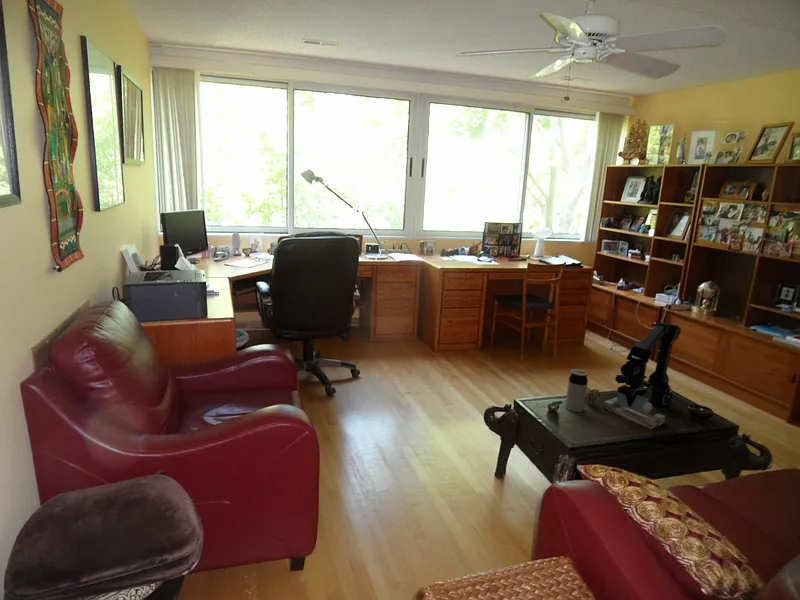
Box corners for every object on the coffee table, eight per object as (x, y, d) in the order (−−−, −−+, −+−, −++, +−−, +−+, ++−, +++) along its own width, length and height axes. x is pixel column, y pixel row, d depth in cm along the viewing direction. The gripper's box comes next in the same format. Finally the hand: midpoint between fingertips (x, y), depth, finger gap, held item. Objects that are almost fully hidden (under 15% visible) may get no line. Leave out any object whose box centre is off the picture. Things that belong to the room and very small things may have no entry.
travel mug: (584, 413, 228) (590, 376, 224) (566, 411, 229) (571, 373, 225) (582, 406, 235) (587, 369, 231) (564, 404, 237) (569, 367, 233)
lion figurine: (601, 409, 234) (604, 391, 232) (591, 409, 233) (593, 391, 231) (585, 396, 248) (587, 379, 246) (575, 396, 247) (577, 379, 245)
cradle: (616, 403, 241) (617, 396, 240) (664, 423, 222) (665, 416, 222) (602, 408, 234) (603, 401, 234) (650, 429, 216) (652, 421, 215)
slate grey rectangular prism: (621, 401, 235) (623, 389, 233) (650, 413, 224) (653, 400, 222) (616, 403, 232) (618, 391, 231) (645, 415, 221) (647, 402, 220)
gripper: (632, 363, 236) (627, 395, 240) (609, 370, 226) (604, 402, 229) (655, 371, 228) (649, 403, 231) (632, 378, 217) (627, 412, 220)
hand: (632, 405), depth 228 cm, fingers closed on slate grey rectangular prism, 4 cm apart
